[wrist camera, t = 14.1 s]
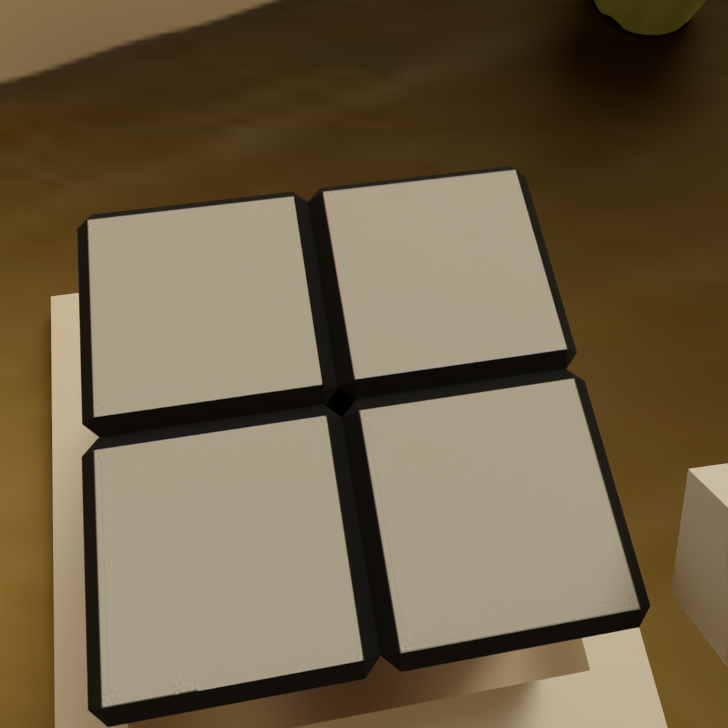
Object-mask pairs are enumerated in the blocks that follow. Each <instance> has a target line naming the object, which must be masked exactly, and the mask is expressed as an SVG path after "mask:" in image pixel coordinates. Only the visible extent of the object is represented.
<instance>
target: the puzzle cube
mask: <svg viewBox="0 0 728 728" xmlns="http://www.w3.org/2000/svg"><path fill="white" fill-rule="evenodd" d="M77 242H78V282H79V321H80V361H81V401H82V424H83V425H84V426H85V427H86V428H88V429H89V430H90V431H92V432H93V433H94V434H96V435H97V436H98V437H99V438H98V439H97V440H96V441H95V442H94V443H93V444H92V446H91V447H90V448H89V449H88V450H87V451H86V452H85V453H84V455H83V456H82V493H83V534H84V575H85V615H86V656H87V697H88V711H90V712H91V713H92V714H93V715H94V716H95V717H97V718H98V719H99V720H100V721H101V722H102V723H103V724H105V725H106V726H107V727H112V726H117V725H123V724H128V723H133V722H139V721H144V720H149V719H155V718H160V717H165V716H171V715H176V714H181V713H186V712H192V711H197V710H202V709H208V708H213V707H218V706H224V705H229V704H234V703H240V702H245V701H250V700H256V699H261V698H266V697H272V696H277V695H282V694H288V693H293V692H298V691H303V690H309V689H314V688H319V687H325V686H330V685H335V684H341V683H346V682H351V681H357V680H362V679H366V677H367V676H368V674H369V673H370V671H371V670H372V668H373V666H374V665H375V663H376V662H377V660H378V659H379V657H380V656H381V657H383V658H384V659H385V660H387V661H388V662H389V663H390V664H392V665H393V666H394V667H396V668H397V669H398V670H399V671H401V672H404V671H410V670H415V669H420V668H426V667H431V666H436V665H442V664H447V663H452V662H458V661H463V660H468V659H474V658H479V657H484V656H489V655H495V654H500V653H505V652H511V651H516V650H521V649H527V648H532V647H537V646H543V645H548V644H553V643H559V642H564V641H569V640H575V639H580V638H585V637H591V636H596V635H601V634H606V633H612V632H617V631H622V630H628V629H633V628H638V627H639V626H640V624H641V623H642V621H643V619H644V617H645V615H646V613H647V611H648V609H649V607H650V603H649V600H648V596H647V593H646V590H645V586H644V583H643V579H642V576H641V573H640V569H639V566H638V562H637V559H636V555H635V552H634V549H633V545H632V542H631V538H630V535H629V532H628V528H627V525H626V521H625V518H624V514H623V511H622V508H621V504H620V501H619V497H618V494H617V490H616V487H615V484H614V480H613V477H612V473H611V470H610V467H609V463H608V460H607V456H606V453H605V449H604V446H603V443H602V439H601V436H600V432H599V429H598V426H597V422H596V419H595V415H594V412H593V408H592V405H591V402H590V398H589V395H588V391H587V388H586V385H585V381H583V380H582V379H580V378H579V377H577V376H576V375H574V374H573V373H571V372H569V371H568V370H566V368H567V367H568V365H569V364H570V362H571V361H572V359H573V358H574V356H575V354H576V353H577V352H576V348H575V345H574V341H573V338H572V334H571V331H570V328H569V324H568V321H567V317H566V314H565V311H564V307H563V304H562V300H561V297H560V294H559V290H558V287H557V283H556V280H555V276H554V273H553V270H552V266H551V263H550V259H549V256H548V253H547V249H546V246H545V242H544V239H543V235H542V232H541V229H540V225H539V222H538V218H537V215H536V212H535V208H534V205H533V201H532V198H531V195H530V191H529V188H528V184H527V181H526V177H525V176H524V175H522V174H521V173H520V172H518V171H517V170H515V169H513V168H511V167H500V168H491V169H483V170H474V171H465V172H456V173H447V174H439V175H430V176H421V177H412V178H403V179H395V180H386V181H377V182H368V183H360V184H351V185H342V186H333V187H324V188H320V189H319V190H318V192H317V193H316V194H315V195H314V196H313V197H312V198H311V199H310V201H309V202H307V201H306V200H304V199H303V198H301V197H300V196H298V195H297V194H295V193H293V192H286V193H278V194H269V195H260V196H251V197H243V198H234V199H225V200H216V201H208V202H199V203H190V204H181V205H172V206H164V207H155V208H146V209H137V210H129V211H120V212H111V213H102V214H93V215H91V216H90V217H89V218H88V219H87V220H86V221H85V222H84V223H83V224H82V225H81V226H80V227H79V228H78V229H77Z"/></svg>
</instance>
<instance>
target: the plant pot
mask: <svg viewBox="0 0 728 728" xmlns="http://www.w3.org/2000/svg"><path fill="white" fill-rule="evenodd" d="M705 1H706V0H594V2H595V4H596V6H597V8H598V9H599V10H600V12H601V13H602V14H605V15H608V16H610V17H612V18H613V19H614V20H616V21H617V22H618V23H619V24H620V25H621V27H622V28H623V29H625V30H627V31H630V32H633V33H637V34H642V35H662V34H667V33H671V32H673V31H676V30H677V29H679V28H680V27H681V26H683V25H684V24H685V23H686V22H688V21H689V20H690V19H691V18H692V17H693V16H694V14H695V13H696V12H697V11H698V9H699V8H700V7H701V6H702V4H703V3H704V2H705Z"/></svg>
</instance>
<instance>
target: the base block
mask: <svg viewBox="0 0 728 728" xmlns="http://www.w3.org/2000/svg"><path fill="white" fill-rule="evenodd" d="M585 671H590V668H589V664H588V660H587V656H586V652H585V648H584V644H583V641H582V638H580V639H575V640H569V641H564V642H559V643H553V644H548V645H543V646H537V647H532V648H527V649H521V650H516V651H511V652H505V653H500V654H495V655H489V656H484V657H479V658H474V659H468V660H463V661H458V662H452V663H447V664H442V665H436V666H431V667H426V668H420V669H415V670H410V671H404V672H401V671H399V670H398V669H397V668H396V667H394V666H393V665H392V664H390V663H389V662H388V661H387V660H385V659H384V658H383V657H381V656H380V657H379V659H378V660H377V662H376V663H375V665H374V666H373V668H372V670H371V671H370V673H369V674H368V676H367V677H366V679H362V680H357V681H351V682H346V683H341V684H335V685H330V686H325V687H319V688H314V689H309V690H303V691H298V692H293V693H288V694H282V695H277V696H272V697H266V698H261V699H256V700H250V701H245V702H240V703H234V704H229V705H224V706H218V707H213V708H208V709H202V710H197V711H192V712H186V713H181V714H176V715H171V716H165V717H160V718H155V719H149V720H144V721H139V722H133V723H128V728H294V727H299V726H304V725H309V724H315V723H320V722H325V721H330V720H335V719H341V718H346V717H351V716H356V715H361V714H366V713H372V712H377V711H382V710H387V709H392V708H398V707H403V706H408V705H413V704H418V703H424V702H429V701H434V700H439V699H444V698H450V697H455V696H460V695H465V694H470V693H475V692H481V691H486V690H491V689H496V688H501V687H507V686H512V685H517V684H522V683H527V682H533V681H538V680H543V679H548V678H553V677H559V676H564V675H569V674H574V673H579V672H585Z"/></svg>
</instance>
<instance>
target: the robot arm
mask: <svg viewBox="0 0 728 728" xmlns="http://www.w3.org/2000/svg"><path fill="white" fill-rule="evenodd" d="M671 593H672V594H673V596H674V597H675V598H676V600H677V601H678V602H679V604H680V605H681V606H682V608H683V609H684V610H685V612H686V613H687V614H688V616H689V617H690V618H691V620H692V621H693V622H694V624H695V625H696V626H697V628H698V629H699V630H700V632H701V633H702V634H703V636H704V637H705V638H706V640H707V641H708V642H709V644H710V645H711V646H712V648H713V649H714V650H715V652H716V653H717V654H718V656H719V657H720V658H721V660H722V661H723V662H724V664H725V665H726V666H727V668H728V463H727V464H720V465H713V466H706V467H699V468H692V469H688V474H687V481H686V488H685V496H684V503H683V510H682V517H681V524H680V531H679V538H678V546H677V553H676V560H675V567H674V574H673V581H672V588H671Z"/></svg>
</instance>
